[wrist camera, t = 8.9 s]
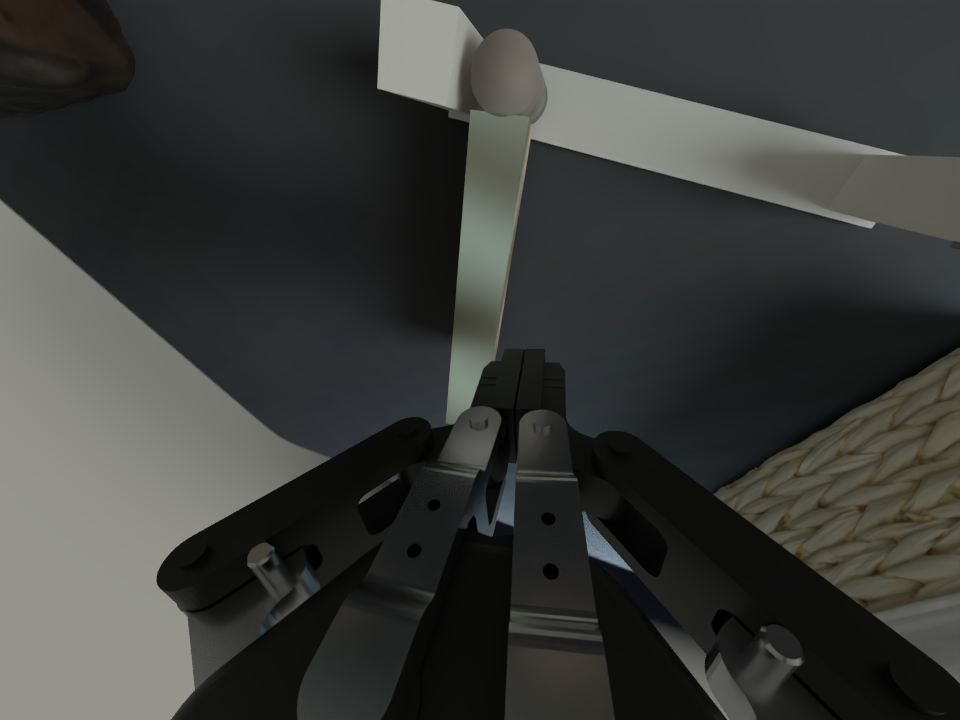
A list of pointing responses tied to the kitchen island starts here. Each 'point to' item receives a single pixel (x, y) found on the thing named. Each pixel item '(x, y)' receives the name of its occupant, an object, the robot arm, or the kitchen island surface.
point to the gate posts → (678, 133)
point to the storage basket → (877, 507)
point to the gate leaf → (491, 201)
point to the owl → (59, 54)
